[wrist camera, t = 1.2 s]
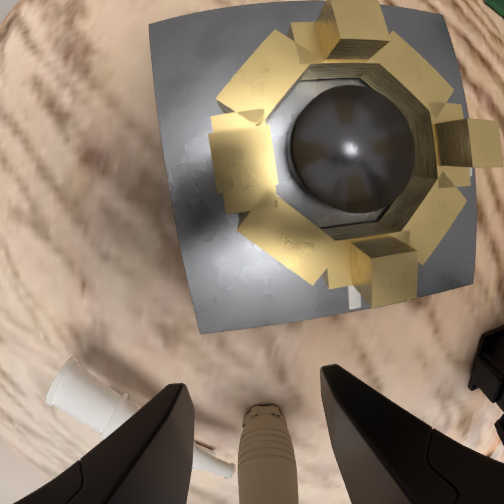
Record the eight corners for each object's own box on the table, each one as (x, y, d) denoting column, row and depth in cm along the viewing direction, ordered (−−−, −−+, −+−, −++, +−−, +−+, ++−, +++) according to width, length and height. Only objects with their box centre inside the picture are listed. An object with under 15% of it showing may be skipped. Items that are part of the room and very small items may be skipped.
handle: (245, 381, 22) (242, 575, 7) (313, 410, 23) (351, 576, 8) (214, 418, 23) (196, 586, 8) (280, 443, 24) (294, 594, 9)
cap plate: (436, 19, 15) (464, 1, 11) (466, 279, 20) (496, 298, 16) (152, 30, 15) (132, 3, 12) (202, 326, 21) (193, 359, 17)
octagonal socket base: (420, 47, 15) (472, 16, 9) (444, 248, 18) (501, 278, 12) (206, 54, 15) (187, 6, 9) (242, 281, 18) (239, 332, 13)
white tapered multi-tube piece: (221, 430, 26) (197, 476, 23) (86, 353, 24) (59, 402, 21) (257, 445, 19) (226, 506, 16) (74, 345, 17) (37, 410, 14)
